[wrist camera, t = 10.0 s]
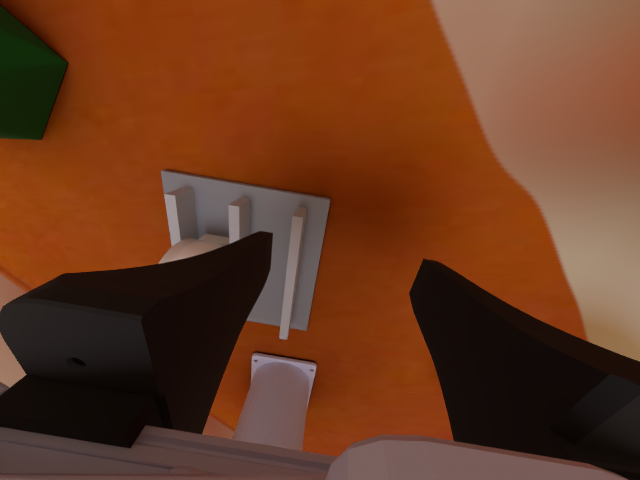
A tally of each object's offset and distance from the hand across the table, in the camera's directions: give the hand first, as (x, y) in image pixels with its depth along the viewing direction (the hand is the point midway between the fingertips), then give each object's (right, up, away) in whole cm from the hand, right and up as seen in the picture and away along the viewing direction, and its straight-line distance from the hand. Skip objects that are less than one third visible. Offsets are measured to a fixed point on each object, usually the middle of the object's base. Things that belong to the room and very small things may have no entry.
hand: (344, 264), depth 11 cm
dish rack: (-8, -1, +11) cm, 14 cm away
